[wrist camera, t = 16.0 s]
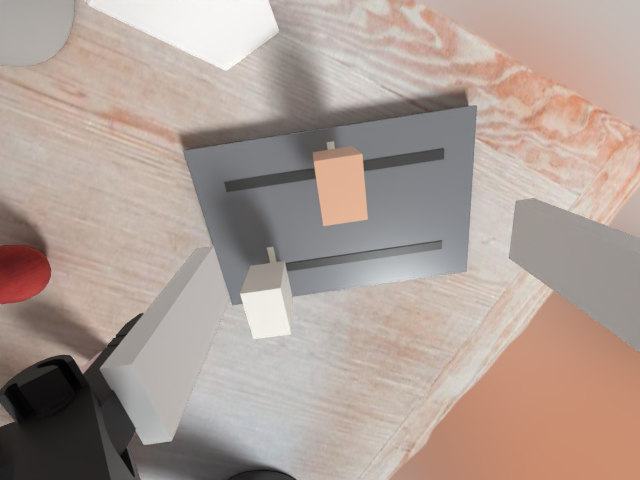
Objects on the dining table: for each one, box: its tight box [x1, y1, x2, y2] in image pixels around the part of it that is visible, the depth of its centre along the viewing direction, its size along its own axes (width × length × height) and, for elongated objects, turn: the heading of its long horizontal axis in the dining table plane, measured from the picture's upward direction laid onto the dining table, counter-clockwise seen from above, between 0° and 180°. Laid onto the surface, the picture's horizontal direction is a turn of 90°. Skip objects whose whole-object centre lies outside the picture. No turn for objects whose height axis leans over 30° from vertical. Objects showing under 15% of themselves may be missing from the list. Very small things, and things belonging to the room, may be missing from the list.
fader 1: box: [240, 261, 293, 339], centre depth 30 cm, size 5×4×8 cm
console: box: [184, 105, 477, 305], centre depth 33 cm, size 18×28×2 cm, turn 98°
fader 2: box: [313, 146, 368, 226], centre depth 26 cm, size 5×4×8 cm
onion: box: [0, 245, 51, 304], centre depth 30 cm, size 6×6×8 cm
